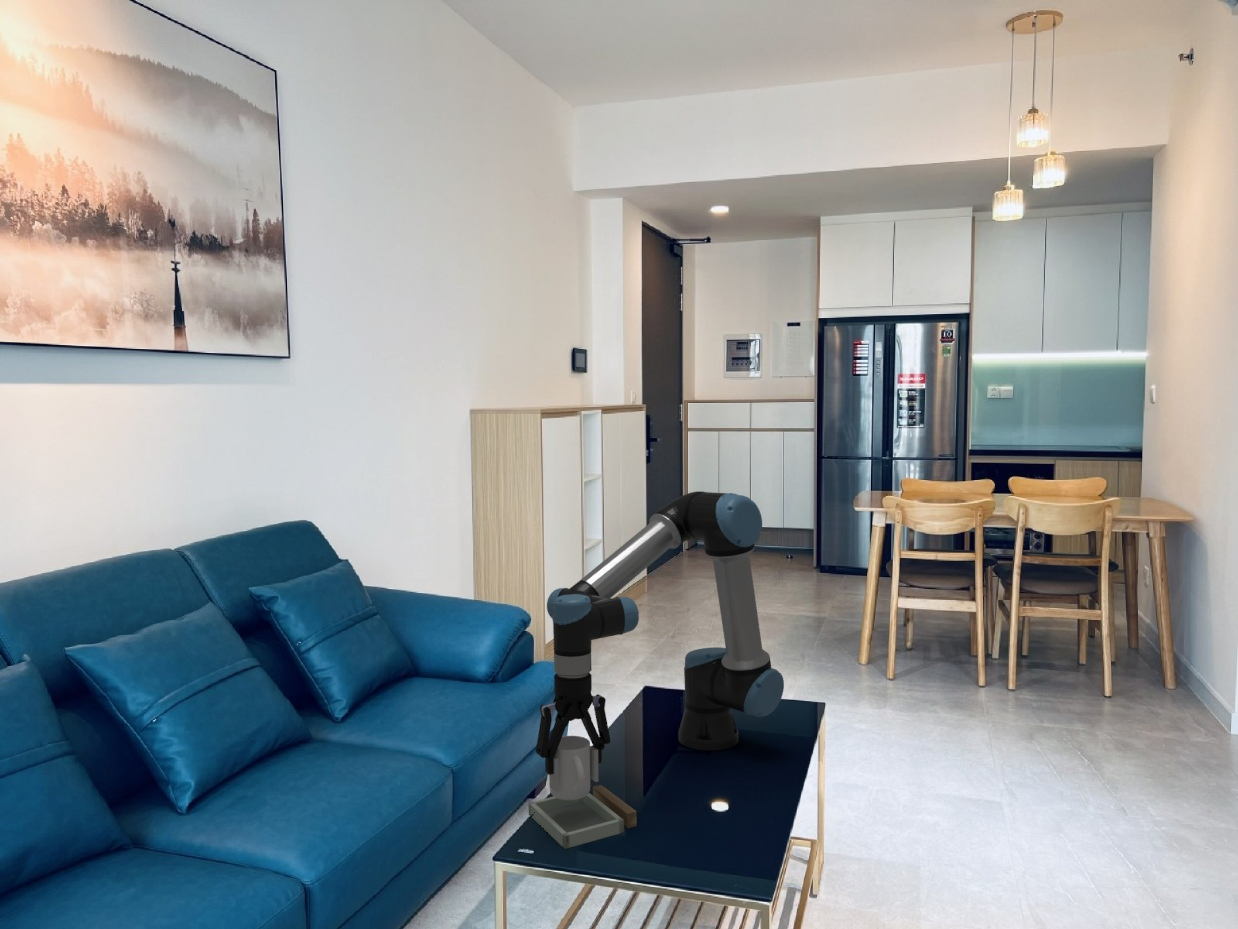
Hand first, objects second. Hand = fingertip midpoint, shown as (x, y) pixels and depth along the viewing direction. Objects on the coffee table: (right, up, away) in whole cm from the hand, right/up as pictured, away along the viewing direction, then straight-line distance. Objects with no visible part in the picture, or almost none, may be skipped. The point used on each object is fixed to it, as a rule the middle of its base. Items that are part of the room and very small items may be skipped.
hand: (574, 784), depth 177 cm
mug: (0, -3, 0) cm, 3 cm away
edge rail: (+8, -8, +5) cm, 12 cm away
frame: (0, -8, 0) cm, 8 cm away
